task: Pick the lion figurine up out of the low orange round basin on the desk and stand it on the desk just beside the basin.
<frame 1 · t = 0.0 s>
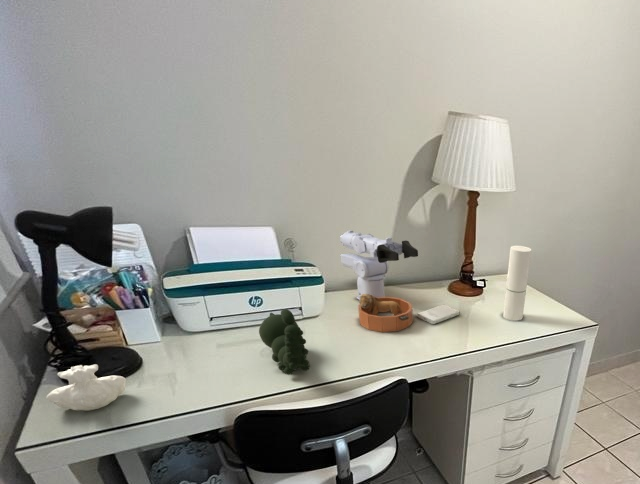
hand: (407, 255, 129), 22 cm above the table, tool horizontal, fingers open, 7 cm apart
toy figurine: (289, 362, 110), on the table
hard drive: (438, 316, 145), on the table
lion figurine: (382, 320, 137), resting in orange round basin
cylindrical container: (512, 317, 151), on the table
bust: (96, 406, 88), on the table
orange round basin: (386, 320, 137), on the table
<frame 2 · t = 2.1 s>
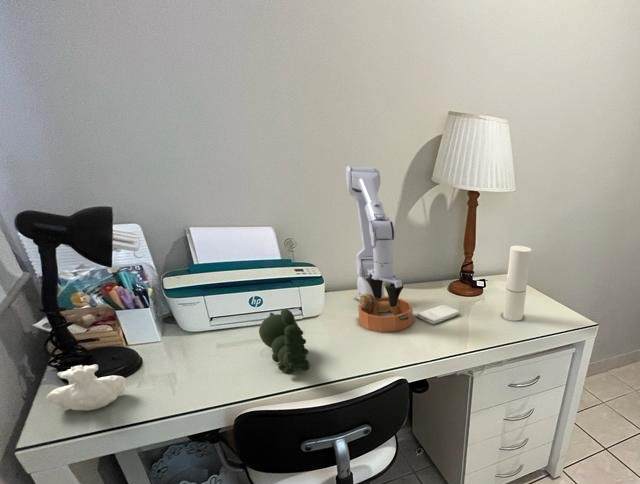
hand: (385, 302, 134), 7 cm above the table, tool pointing down, fingers open, 7 cm apart
lion figurine: (382, 320, 137), resting in orange round basin, touching gripper
everything else where it was.
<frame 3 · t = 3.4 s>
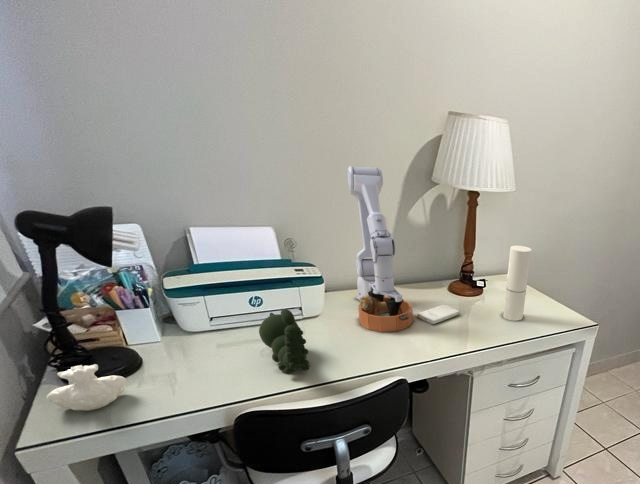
hand: (386, 315, 136), 2 cm above the table, tool pointing down, fingers closed on lion figurine, 7 cm apart
lion figurine: (383, 321, 136), resting in orange round basin, touching gripper
everything else where it was.
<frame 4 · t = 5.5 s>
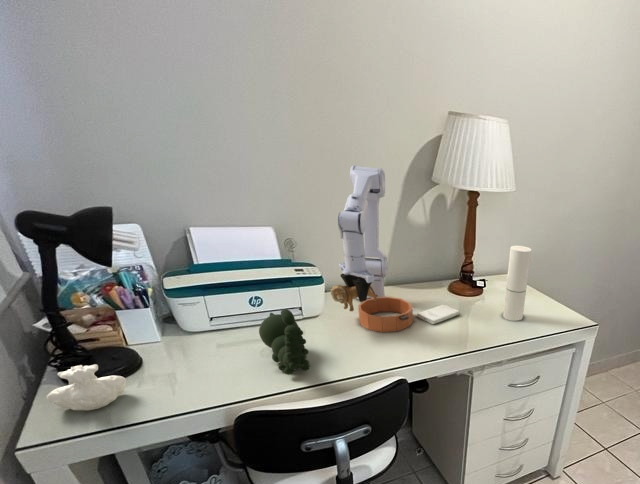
hand: (358, 298, 127), 9 cm above the table, tool pointing down, fingers closed on lion figurine, 4 cm apart
lion figurine: (357, 307, 128), point 7 cm above the table, touching gripper
everything else where it was.
when the fingers open (3 cm above the table, at t = 7.9 s): lion figurine stays where it is, on the table.
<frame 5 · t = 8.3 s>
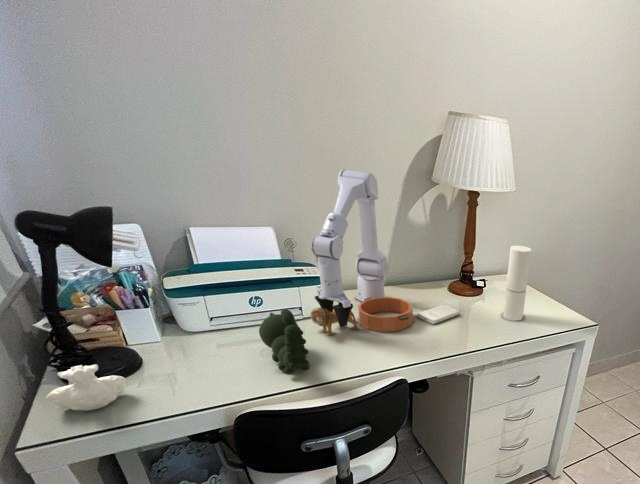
hand: (336, 321, 126), 3 cm above the table, tool pointing down, fingers open, 7 cm apart
lion figurine: (336, 332, 127), on the table
everything else where it was.
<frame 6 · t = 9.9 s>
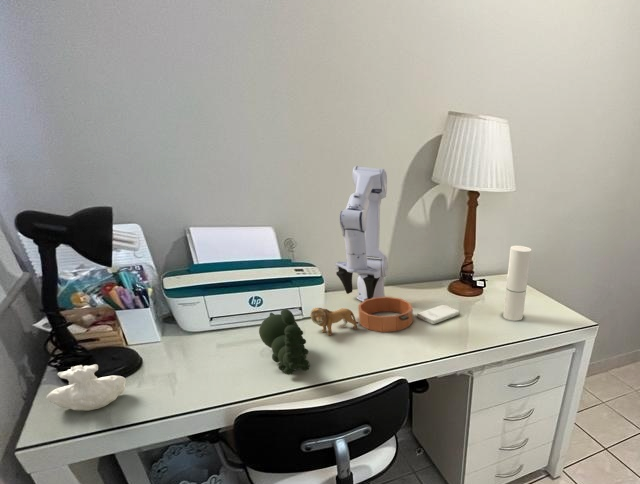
hand: (359, 295, 129), 9 cm above the table, tool pointing down, fingers open, 7 cm apart
nothing on the table moved.
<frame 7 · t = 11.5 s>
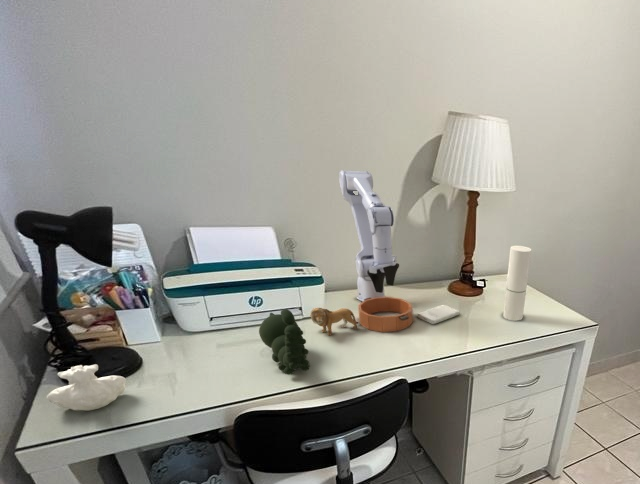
hand: (384, 288, 136), 9 cm above the table, tool pointing down, fingers open, 7 cm apart
nothing on the table moved.
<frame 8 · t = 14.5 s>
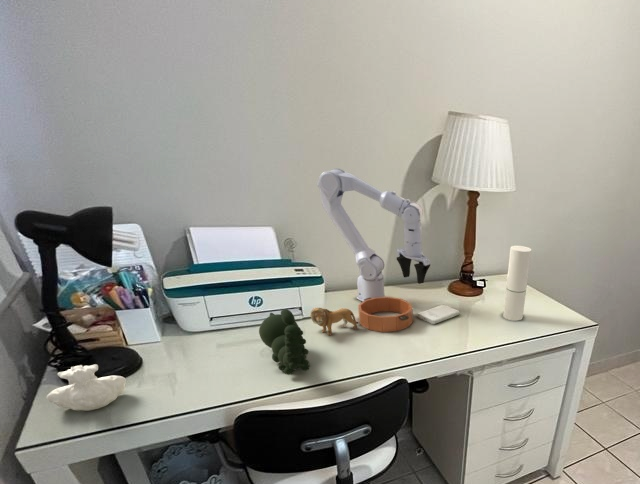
hand: (413, 279, 146), 9 cm above the table, tool pointing down, fingers open, 7 cm apart
nothing on the table moved.
at the end: lion figurine inside the target area (0.2 cm from its centre), on the table; lion figurine touching table; lion figurine tilted 0° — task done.
